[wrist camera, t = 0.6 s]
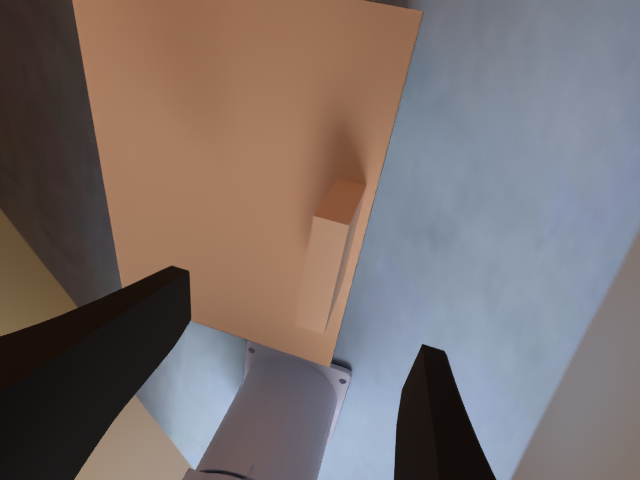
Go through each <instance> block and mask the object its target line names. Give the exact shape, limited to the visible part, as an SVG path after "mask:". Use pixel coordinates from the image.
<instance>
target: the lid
mask: <svg viewBox="0 0 640 480" xmlns="http://www.w3.org/2000/svg"><path fill="white" fill-rule="evenodd" d="M72 1H73V7H74V13H75V19H76V24H77V30H78V36H79V42H80V48H81V53H82V59H83V65H84V71H85V76H86V82H87V88H88V94H89V100H90V105H91V111H92V117H93V123H94V128H95V134H96V140H97V146H98V152H99V157H100V163H101V169H102V175H103V180H104V186H105V192H106V198H107V204H108V209H109V215H110V221H111V227H112V233H113V238H114V244H115V250H116V256H117V261H118V267H119V273H120V279H121V285H122V288H124V287H126V286H129V285H131V284H133V283H135V282H137V281H139V280H141V279H143V278H145V277H147V276H150V275H152V274H154V273H156V272H158V271H160V270H162V269H165V268H167V267H169V266H175V267H178V268H182V269H185V270H188V271H189V272H190V295H191V318H192V319H191V321H193V322H196V323H199V324H202V325H205V326H208V327H211V328H214V329H217V330H220V331H223V332H226V333H229V334H232V335H235V336H238V337H241V338H244V339H247V340H250V341H253V342H256V343H259V344H262V345H265V346H268V347H271V348H274V349H277V350H279V351H282V352H285V353H288V354H291V355H294V356H297V357H300V358H303V359H306V360H309V361H312V362H315V363H318V364H321V365H324V366H327V367H330V364H331V361H332V358H333V354H334V351H335V347H336V343H337V339H338V335H339V332H340V328H341V324H342V320H343V317H344V313H345V309H346V305H347V301H348V298H349V294H350V290H351V286H352V282H353V279H354V275H355V271H356V267H357V263H358V260H359V256H360V252H361V248H362V245H363V241H364V237H365V233H366V229H367V226H368V222H369V218H370V214H371V210H372V207H373V203H374V199H375V195H376V191H377V188H378V184H379V180H380V176H381V173H382V169H383V165H384V161H385V157H386V154H387V150H388V146H389V142H390V138H391V135H392V131H393V127H394V123H395V119H396V116H397V112H398V108H399V104H400V100H401V97H402V93H403V89H404V85H405V82H406V78H407V74H408V70H409V66H410V63H411V59H412V55H413V51H414V47H415V44H416V40H417V36H418V32H419V28H420V25H421V21H422V17H423V13H424V12H423V11H419V10H413V9H408V8H402V7H397V6H391V5H386V4H381V3H375V2H370V1H364V0H72Z"/></svg>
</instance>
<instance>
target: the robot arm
mask: <svg viewBox="0 0 640 480" xmlns="http://www.w3.org/2000/svg"><path fill="white" fill-rule="evenodd" d="M191 319H192V318H191V295H190V272H189V271H188V270H185V269H182V268H178V267H175V266H169V267H167V268H165V269H162V270H160V271H158V272H156V273H154V274H152V275H150V276H147V277H145V278H143V279H141V280H139V281H137V282H135V283H133V284H131V285H129V286H126V287H124V288H122V289H120V290H118V291H116V292H113V293H111V294H109V295H107V296H105V297H103V298H100V299H98V300H96V301H93V302H91V303H89V304H86V305H84V306H82V307H79V308H77V309H74V310H72V311H70V312H67V313H65V314H63V315H60V316H58V317H55V318H52V319H50V320H47V321H44V322H42V323H39V324H36V325H33V326H30V327H27V328H24V329H22V330H19V331H16V332H13V333H10V334H7V335H3V336H0V480H74V479H75V477H76V476H77V474H78V473H79V471H80V470H81V468H82V466H83V465H84V464H85V462H86V461H87V459H88V457H89V456H90V454H91V453H92V451H93V450H94V448H95V447H96V446H97V444H98V443H99V441H100V439H101V438H102V437H103V435H104V434H105V432H106V431H107V430H108V428H109V427H110V425H111V424H112V422H113V421H114V420H115V418H116V417H117V416H118V414H119V413H120V412H121V411H122V409H123V408H124V407H125V405H126V404H127V403H128V402H129V401H130V399H131V398H132V397H133V396H134V395H135V394H136V392H137V391H138V390H139V389H140V388H141V386H142V385H143V384H144V383H145V381H146V380H147V379H148V378H149V377H150V375H151V374H152V373H153V372H154V371H155V369H156V368H157V367H158V366H159V365H160V363H161V362H162V361H163V360H164V358H165V357H166V356H167V355H168V354H169V352H170V351H171V350H172V349H173V347H174V346H175V344H176V343H177V341H178V340H179V338H180V337H181V335H182V334H183V332H184V330H185V329H186V327H187V325H188V324H189V322H190V321H191ZM351 376H352V373H351V371H350V370H349V369H347V368H344V367H341V366H338V365H335V364H332V363H331V364H330V367H327V366H324V365H321V364H318V363H315V362H312V361H309V360H306V359H303V358H300V357H297V356H294V355H291V354H288V353H285V352H282V351H279V350H277V349H274V348H271V347H268V346H265V345H262V344H259V343H256V342H253V341H250V340H247V342H246V350H245V364H244V378H243V383H242V385H241V387H240V389H239V391H238V392H237V394H236V396H235V398H234V400H233V402H232V403H231V405H230V407H229V409H228V411H227V413H226V415H225V416H224V418H223V420H222V422H221V424H220V426H219V428H218V429H217V431H216V433H215V435H214V437H213V439H212V440H211V442H210V444H209V446H208V448H207V450H206V452H205V453H204V455H203V457H202V459H201V461H200V463H199V465H198V466H197V468H196V470H194V469H191V468H189V469H188V471H187V472H186V474H185V476H184V478H183V479H182V480H317V478H318V474H319V470H320V466H321V463H322V459H323V455H324V451H325V448H326V445H329V444H330V443H331V439H332V436H333V433H334V430H335V427H336V424H337V421H338V417H339V414H340V411H341V408H342V405H343V402H344V399H345V395H346V392H347V389H348V386H349V383H350V380H351ZM394 480H496V478H495V476H494V474H493V472H492V470H491V468H490V465H489V463H488V461H487V459H486V457H485V455H484V453H483V450H482V448H481V446H480V444H479V441H478V439H477V437H476V434H475V432H474V429H473V427H472V424H471V422H470V420H469V417H468V415H467V412H466V410H465V407H464V404H463V402H462V399H461V396H460V394H459V391H458V388H457V385H456V382H455V379H454V377H453V374H452V370H451V367H450V364H449V361H448V358H447V355H446V353H445V351H443V350H440V349H436V348H433V347H430V346H427V345H424V344H422V346H421V348H420V350H419V353H418V355H417V357H416V359H415V362H414V364H413V366H412V368H411V371H410V373H409V375H408V377H407V380H406V382H405V384H404V386H403V389H402V393H401V399H400V406H399V412H398V419H397V427H396V446H395V468H394Z"/></svg>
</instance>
